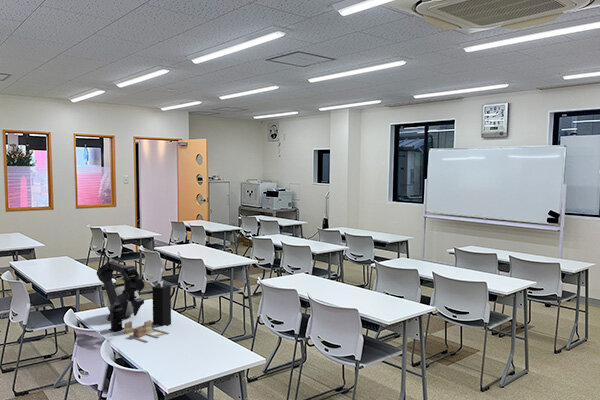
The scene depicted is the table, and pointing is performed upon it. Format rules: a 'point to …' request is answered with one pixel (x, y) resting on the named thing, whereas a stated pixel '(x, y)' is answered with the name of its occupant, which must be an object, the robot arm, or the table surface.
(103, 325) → the table surface
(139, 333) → the cube
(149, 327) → the strip broken
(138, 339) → the lane board
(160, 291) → the black rectangular block
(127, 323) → the tan piece
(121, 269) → the robot arm
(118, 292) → the moon model
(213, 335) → the table surface
